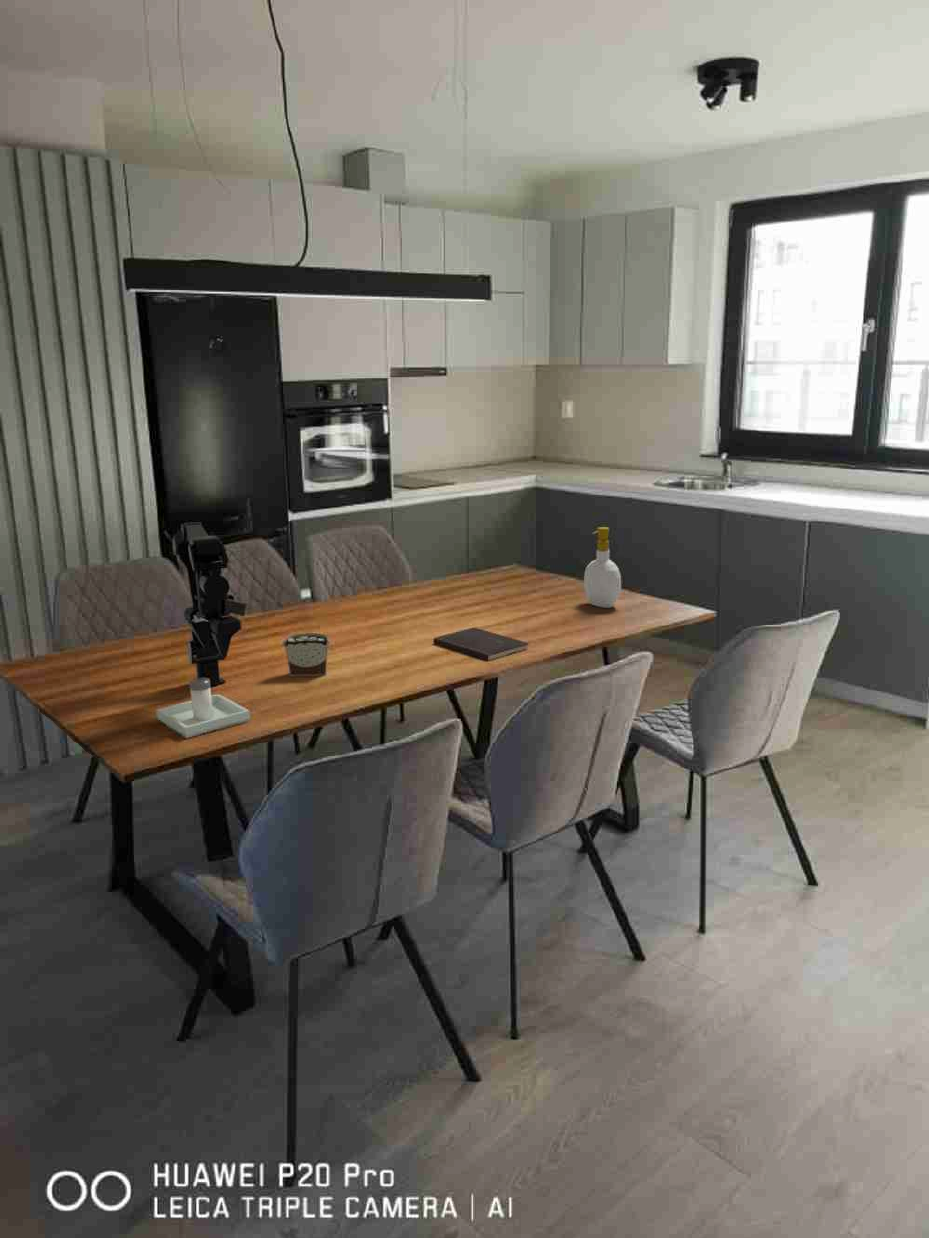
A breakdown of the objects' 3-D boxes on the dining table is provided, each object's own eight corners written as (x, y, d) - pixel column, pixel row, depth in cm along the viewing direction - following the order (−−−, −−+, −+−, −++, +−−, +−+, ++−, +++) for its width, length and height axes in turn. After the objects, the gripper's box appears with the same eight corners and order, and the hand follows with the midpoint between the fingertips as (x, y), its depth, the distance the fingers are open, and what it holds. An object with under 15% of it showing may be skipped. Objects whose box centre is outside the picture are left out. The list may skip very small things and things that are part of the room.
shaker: (190, 717, 224) (185, 680, 221) (208, 712, 226) (204, 676, 224) (198, 722, 220) (194, 685, 218) (217, 717, 223) (213, 680, 221)
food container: (333, 667, 260) (331, 631, 257) (331, 674, 254) (329, 638, 251) (287, 668, 260) (285, 633, 257) (284, 676, 254) (282, 639, 251)
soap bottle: (575, 604, 321) (576, 526, 314) (594, 599, 326) (595, 523, 319) (608, 612, 310) (609, 532, 303) (626, 607, 315) (628, 528, 308)
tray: (157, 719, 224) (156, 709, 224) (219, 703, 234) (218, 693, 233) (186, 738, 213) (185, 727, 212) (250, 720, 222) (249, 710, 222)
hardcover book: (474, 634, 290) (473, 627, 289) (528, 650, 273) (528, 642, 273) (433, 645, 280) (433, 638, 279) (487, 663, 263) (487, 655, 262)
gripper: (259, 591, 227) (264, 654, 231) (222, 579, 241) (227, 639, 245) (215, 599, 220) (221, 664, 224) (180, 586, 234) (186, 647, 238)
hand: (215, 653), depth 233 cm, fingers open, 9 cm apart
